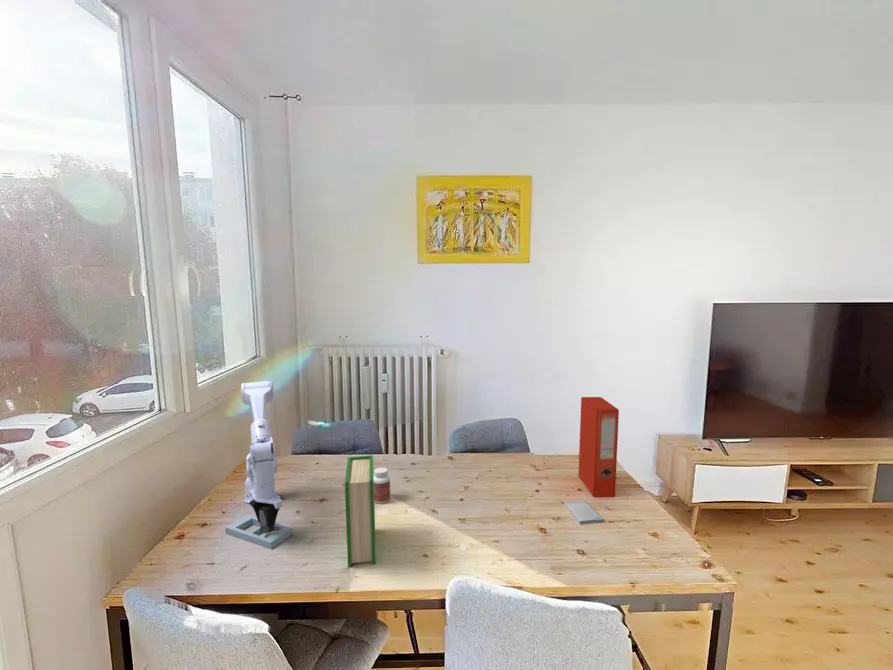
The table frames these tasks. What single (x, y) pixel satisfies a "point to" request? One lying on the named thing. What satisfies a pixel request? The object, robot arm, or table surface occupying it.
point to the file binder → (598, 446)
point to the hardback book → (360, 510)
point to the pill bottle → (381, 486)
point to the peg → (264, 523)
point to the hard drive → (583, 512)
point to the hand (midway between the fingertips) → (266, 523)
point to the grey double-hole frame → (258, 532)
